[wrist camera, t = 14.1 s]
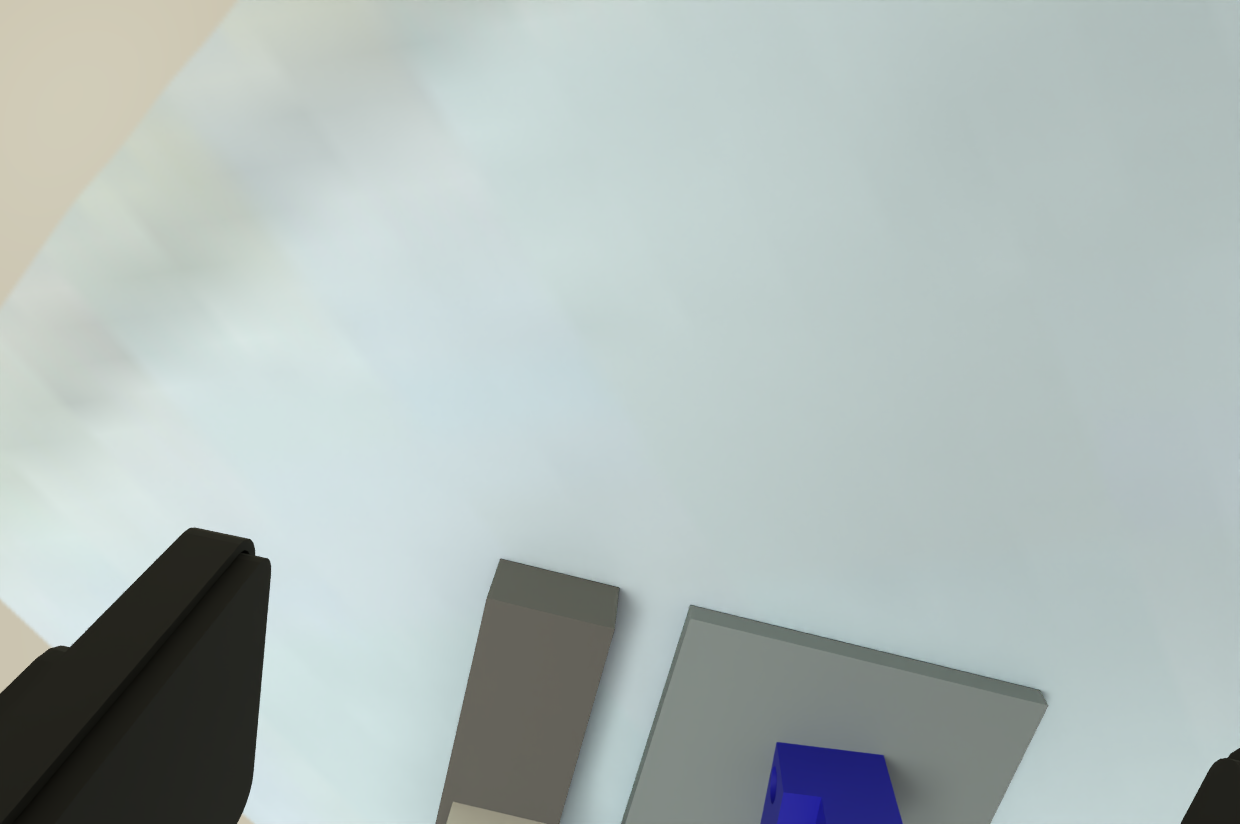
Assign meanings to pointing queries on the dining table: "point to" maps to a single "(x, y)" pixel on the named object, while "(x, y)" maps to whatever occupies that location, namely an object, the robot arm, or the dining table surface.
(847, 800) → the blue curved block
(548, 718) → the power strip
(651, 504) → the dining table surface
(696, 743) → the slate mat
